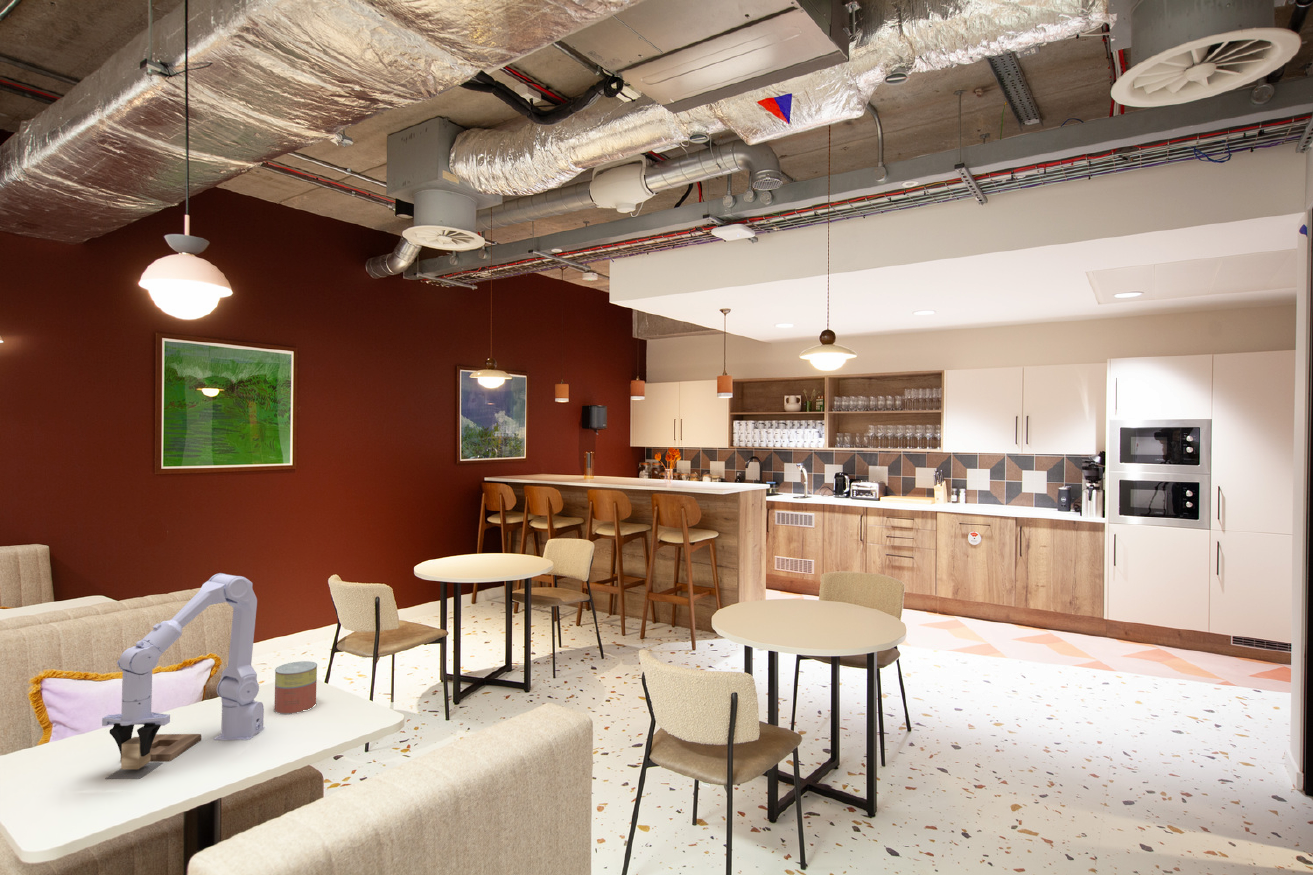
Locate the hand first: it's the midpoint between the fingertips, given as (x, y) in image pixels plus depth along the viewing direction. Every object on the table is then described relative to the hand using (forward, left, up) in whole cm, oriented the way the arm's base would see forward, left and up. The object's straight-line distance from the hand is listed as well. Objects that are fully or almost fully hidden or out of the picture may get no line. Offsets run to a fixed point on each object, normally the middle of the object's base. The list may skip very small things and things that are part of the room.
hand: (135, 754), depth 162 cm
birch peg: (0, 0, -3) cm, 3 cm away
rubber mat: (0, 0, -4) cm, 4 cm away
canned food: (-18, -41, -4) cm, 45 cm away
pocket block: (+1, -11, -4) cm, 12 cm away
